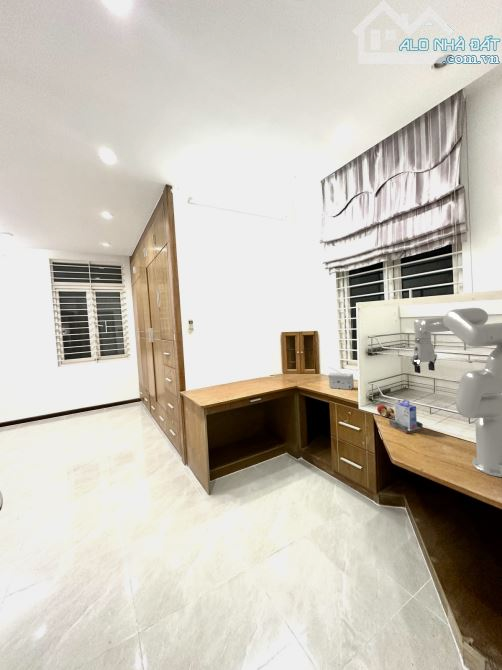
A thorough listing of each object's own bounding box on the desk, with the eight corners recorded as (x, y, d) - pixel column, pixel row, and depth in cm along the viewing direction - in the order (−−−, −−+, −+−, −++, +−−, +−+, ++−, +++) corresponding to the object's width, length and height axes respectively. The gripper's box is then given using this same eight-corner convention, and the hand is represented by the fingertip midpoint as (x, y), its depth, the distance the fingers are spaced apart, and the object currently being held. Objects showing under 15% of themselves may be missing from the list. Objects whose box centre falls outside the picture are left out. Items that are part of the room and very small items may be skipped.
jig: (422, 430, 143) (422, 423, 142) (406, 433, 140) (406, 427, 140) (405, 422, 154) (404, 416, 154) (389, 425, 152) (389, 419, 151)
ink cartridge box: (417, 427, 143) (416, 402, 142) (410, 429, 141) (409, 404, 140) (402, 421, 152) (400, 397, 151) (395, 423, 151) (393, 399, 150)
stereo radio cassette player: (354, 388, 231) (352, 366, 230) (351, 390, 224) (350, 368, 223) (331, 386, 244) (329, 365, 242) (328, 388, 237) (326, 367, 236)
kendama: (407, 422, 157) (383, 409, 174) (406, 413, 155) (382, 401, 172) (397, 427, 155) (374, 413, 172) (397, 418, 153) (373, 405, 170)
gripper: (416, 343, 136) (418, 375, 137) (441, 339, 140) (443, 370, 141) (404, 342, 143) (406, 372, 144) (429, 338, 147) (430, 368, 148)
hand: (424, 371), depth 143 cm, fingers open, 9 cm apart
